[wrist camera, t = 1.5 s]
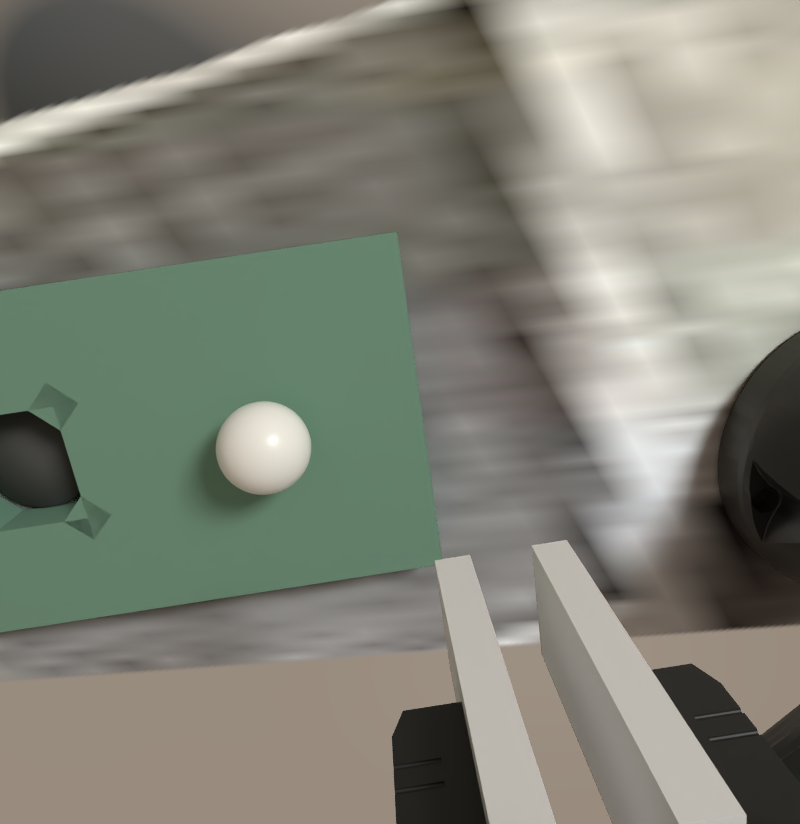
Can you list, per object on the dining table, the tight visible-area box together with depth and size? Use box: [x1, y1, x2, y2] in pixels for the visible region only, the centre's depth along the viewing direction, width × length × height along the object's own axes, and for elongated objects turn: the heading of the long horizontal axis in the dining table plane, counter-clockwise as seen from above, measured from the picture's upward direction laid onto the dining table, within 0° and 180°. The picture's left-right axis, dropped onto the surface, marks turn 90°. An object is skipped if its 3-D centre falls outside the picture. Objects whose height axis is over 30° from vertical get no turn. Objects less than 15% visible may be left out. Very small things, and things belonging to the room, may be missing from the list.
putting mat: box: [0, 232, 442, 632], centre depth 30 cm, size 26×16×2 cm, turn 98°
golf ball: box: [216, 401, 311, 495], centre depth 27 cm, size 4×4×4 cm
